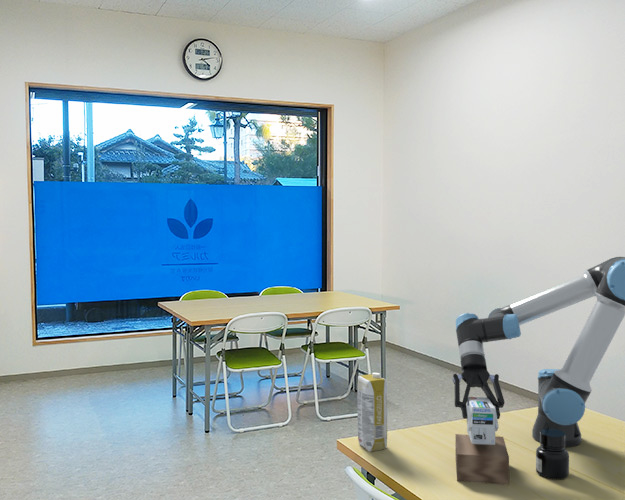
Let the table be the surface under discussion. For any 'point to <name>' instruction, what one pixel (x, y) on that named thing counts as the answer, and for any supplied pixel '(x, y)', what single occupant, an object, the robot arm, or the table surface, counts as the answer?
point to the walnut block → (482, 461)
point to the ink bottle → (552, 455)
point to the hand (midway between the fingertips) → (483, 428)
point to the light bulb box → (482, 420)
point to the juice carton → (372, 411)
